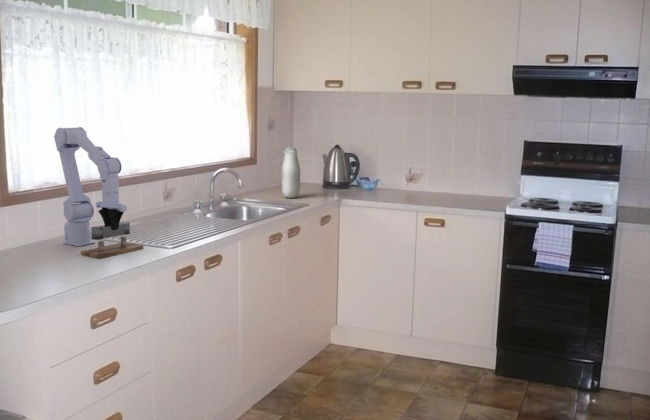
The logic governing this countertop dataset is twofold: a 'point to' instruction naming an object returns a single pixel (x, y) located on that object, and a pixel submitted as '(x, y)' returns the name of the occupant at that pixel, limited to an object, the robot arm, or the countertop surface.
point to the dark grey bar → (110, 231)
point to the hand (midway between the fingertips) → (111, 229)
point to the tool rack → (111, 249)
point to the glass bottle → (290, 173)
